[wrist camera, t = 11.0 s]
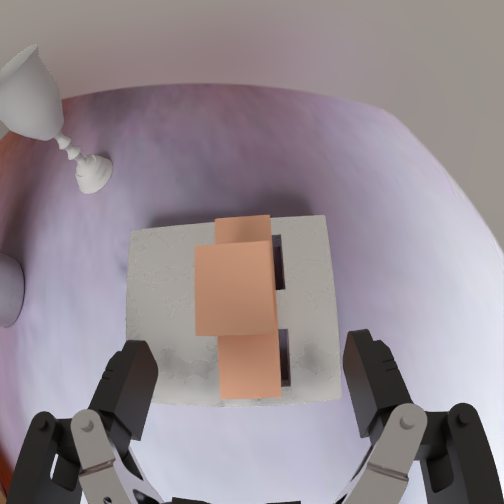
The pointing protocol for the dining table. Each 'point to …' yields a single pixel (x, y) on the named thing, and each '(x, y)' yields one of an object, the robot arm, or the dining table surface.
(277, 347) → the clip
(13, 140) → the dining table surface
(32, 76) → the chalice
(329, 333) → the plate
